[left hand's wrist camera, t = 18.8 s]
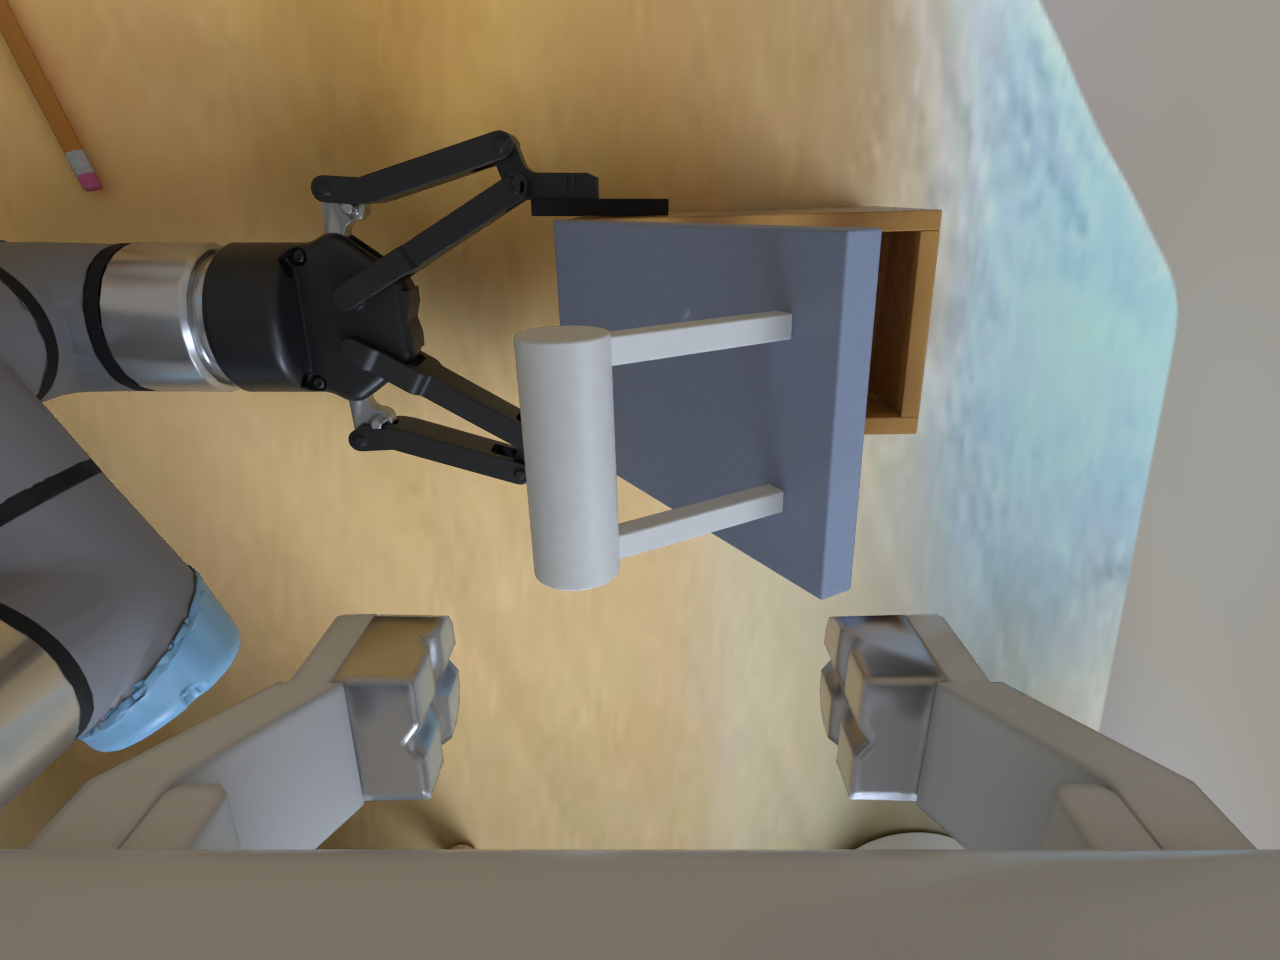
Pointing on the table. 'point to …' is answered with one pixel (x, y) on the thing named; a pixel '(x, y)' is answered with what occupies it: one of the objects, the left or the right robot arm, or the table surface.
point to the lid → (700, 395)
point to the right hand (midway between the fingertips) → (665, 318)
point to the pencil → (47, 99)
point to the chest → (897, 296)
